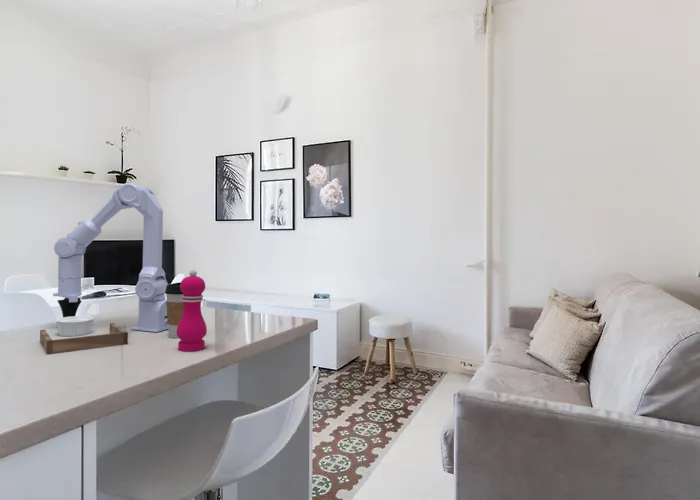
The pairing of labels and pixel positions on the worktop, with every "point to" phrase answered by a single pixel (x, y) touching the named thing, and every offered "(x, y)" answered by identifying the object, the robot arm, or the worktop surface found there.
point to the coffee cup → (174, 307)
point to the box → (84, 341)
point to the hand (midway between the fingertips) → (68, 323)
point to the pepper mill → (192, 314)
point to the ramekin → (74, 325)
